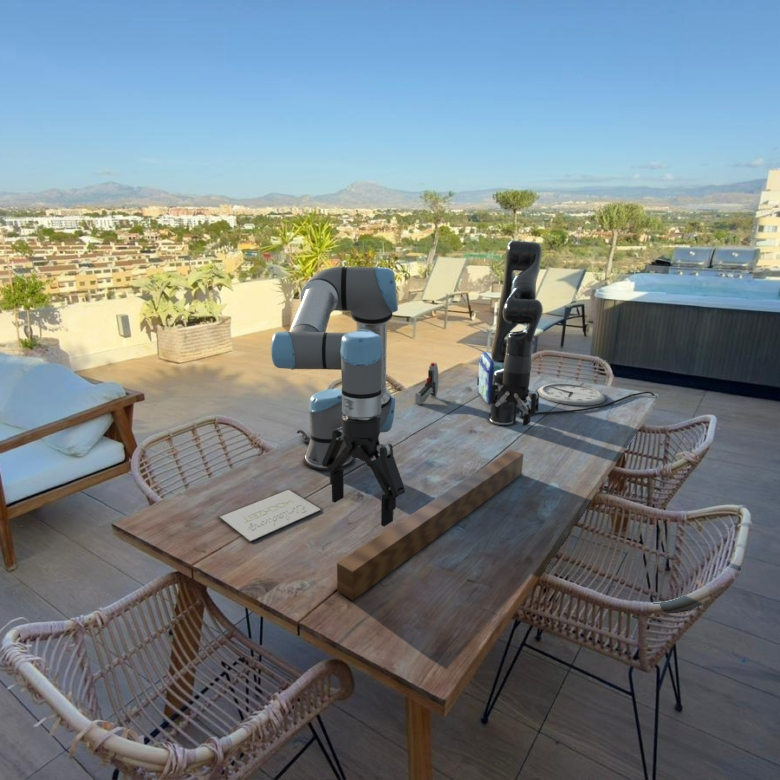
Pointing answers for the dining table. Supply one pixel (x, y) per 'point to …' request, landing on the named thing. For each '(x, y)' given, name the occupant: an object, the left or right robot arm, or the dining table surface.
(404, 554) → the bar
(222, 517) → the invitation card
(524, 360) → the right robot arm
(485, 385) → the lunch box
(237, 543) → the dining table surface
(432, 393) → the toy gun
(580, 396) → the wall clock
